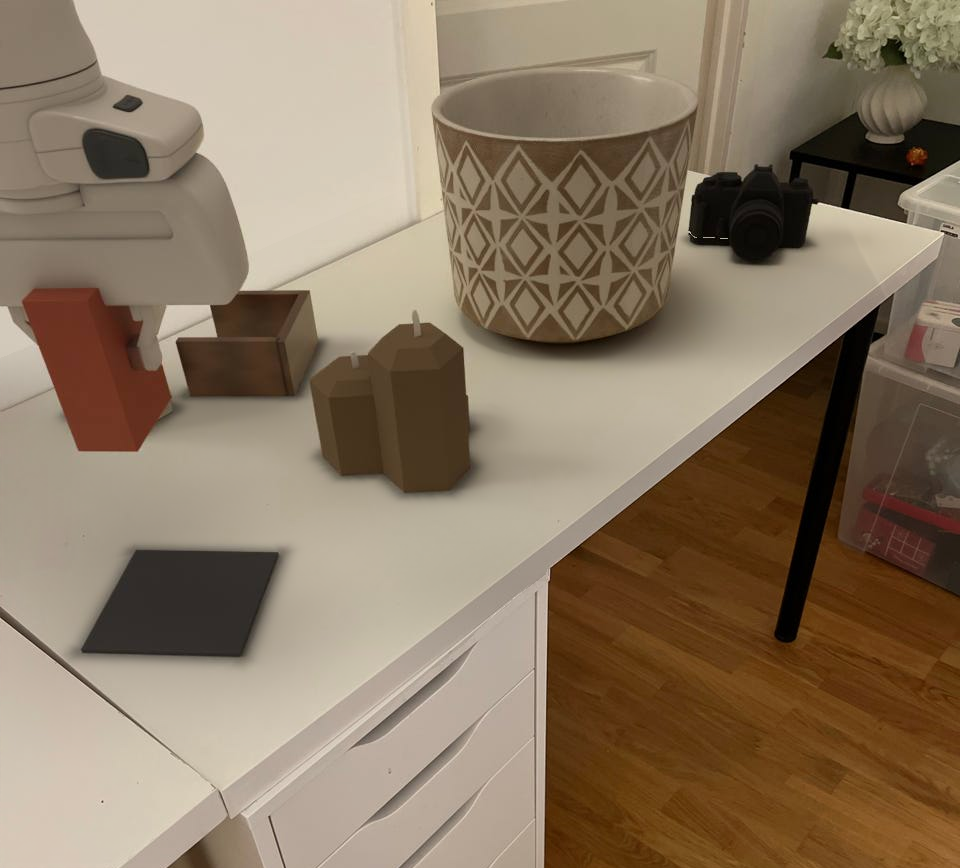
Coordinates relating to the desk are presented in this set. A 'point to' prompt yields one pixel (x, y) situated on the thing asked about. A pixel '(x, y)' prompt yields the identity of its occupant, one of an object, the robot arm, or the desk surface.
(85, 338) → the tea packet
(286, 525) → the desk surface
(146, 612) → the felt mat
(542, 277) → the planter
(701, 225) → the film camera
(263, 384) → the compartment
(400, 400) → the candle
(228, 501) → the desk surface
